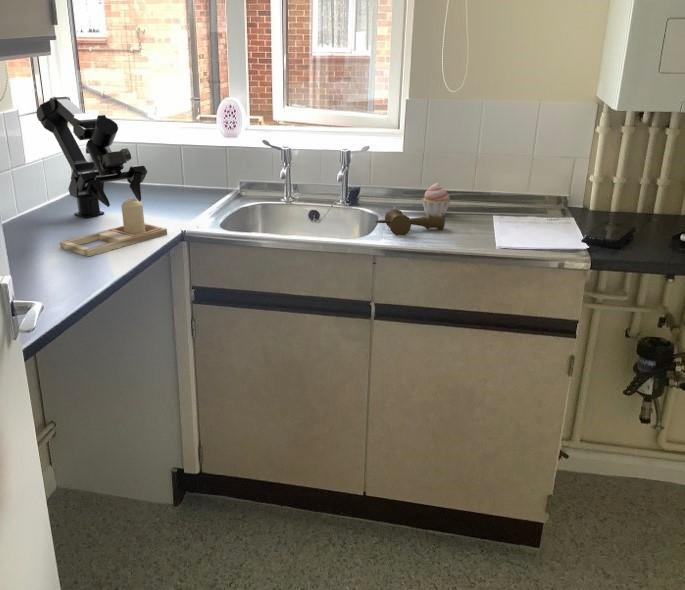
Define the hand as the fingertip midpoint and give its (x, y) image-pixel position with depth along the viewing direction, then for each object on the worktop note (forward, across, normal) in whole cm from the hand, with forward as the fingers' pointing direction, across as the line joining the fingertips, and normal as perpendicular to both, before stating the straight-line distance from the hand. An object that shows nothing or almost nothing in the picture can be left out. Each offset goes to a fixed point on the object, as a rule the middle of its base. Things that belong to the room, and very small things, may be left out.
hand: (124, 203), depth 184 cm
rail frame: (+10, -6, +2) cm, 12 cm away
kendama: (+42, +61, -31) cm, 80 cm away
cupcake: (+37, +80, -27) cm, 92 cm away
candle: (+9, 0, +3) cm, 9 cm away
